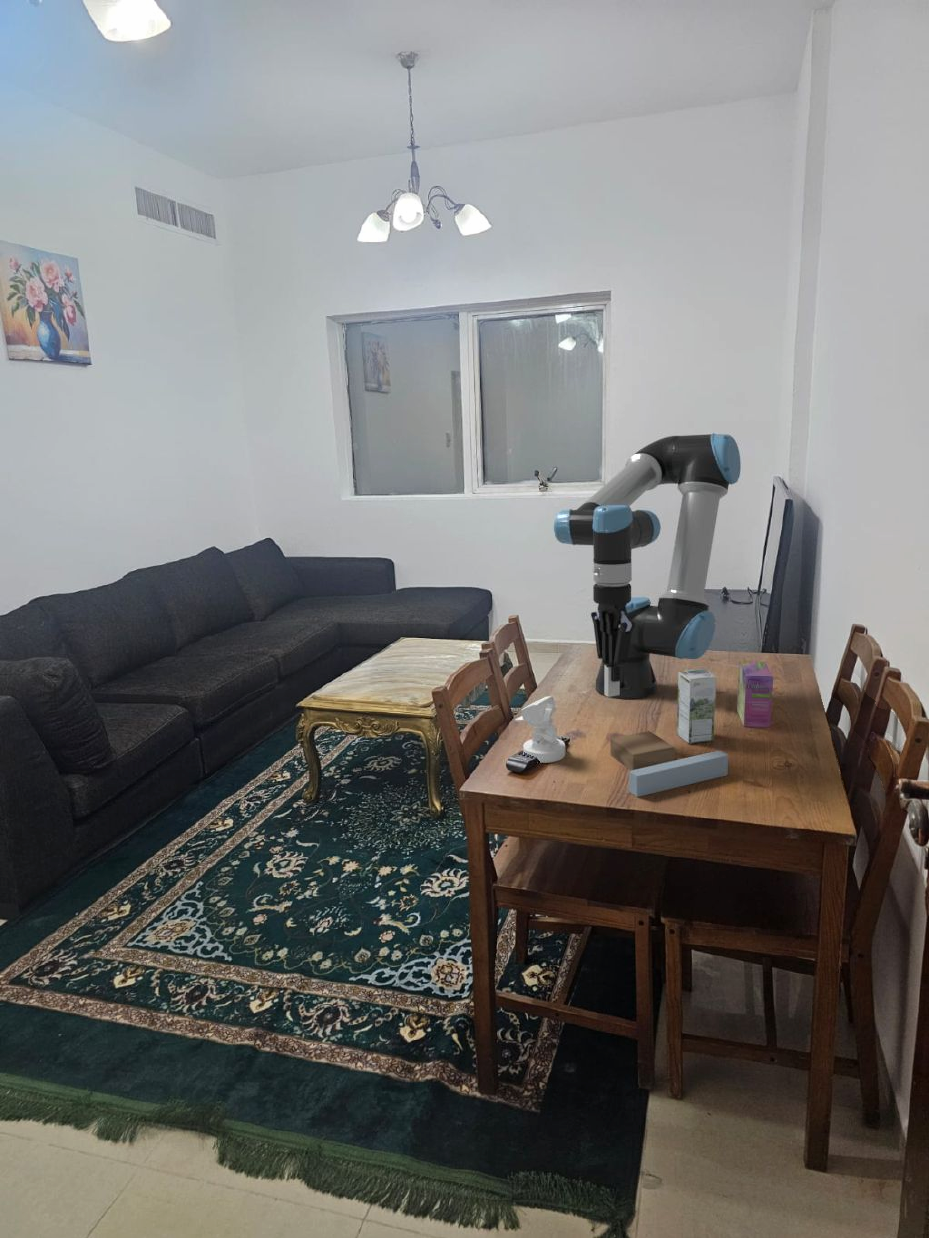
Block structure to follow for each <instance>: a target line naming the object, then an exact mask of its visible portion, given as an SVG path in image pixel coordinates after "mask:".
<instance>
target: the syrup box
mask: <svg viewBox="0 0 929 1238" xmlns="http://www.w3.org/2000/svg"><path fill="white" fill-rule="evenodd" d="M677 674H678V677H677V678H678V679H677V711H676V712H677V714H676V715H677V716H676V719H677V721H676V735H677V736H679V737H680V738H681V739H682V740H683V741H685V742H686V743H687V744H689V745H690V744H698V743H705V742H706V743H708V742H713V741H714V736H715V715H716V711H715V710H716V692H717V691H716V688H717V687H716V686H717V677H716V676H715V675H714V674H713V673H712V672H710V671H709V670H707V669H705V668H697V669H687V670H678V673H677Z"/></svg>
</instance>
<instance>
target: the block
mask: <svg viewBox="0 0 929 1238" xmlns="http://www.w3.org/2000/svg"><path fill="white" fill-rule="evenodd" d="M609 745H610V756H611V757H612V758H613V759H615V761H617V762H618V763H620V764H621V765H623V766H624V767H625V768H627V769H628V770H629V771H632V770H636V769H640V768H645V767H649V766H653V765H658V764H662V763H666V762H671V761H675V746H674V745H673V744H671V743H669V742H668V741H666V740H664V739H663V738H661V737H660V736H658V735H657V734H655V733H653V732H652V731H651V730H649V731H644V732H642V731H641V732H637V733H633V734H627V735H622V736H621V735H620V736H615V737H610V744H609Z"/></svg>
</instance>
